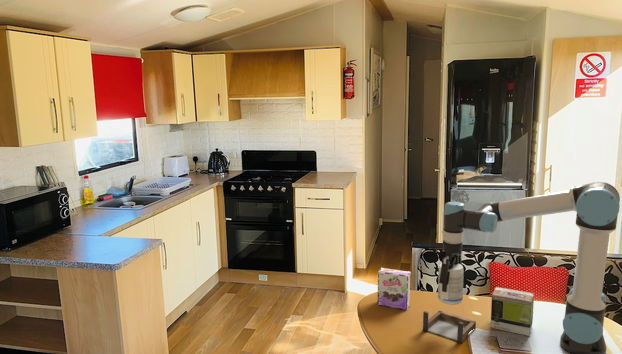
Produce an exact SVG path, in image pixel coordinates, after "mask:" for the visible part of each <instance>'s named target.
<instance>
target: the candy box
mask: <svg viewBox="0 0 622 354" xmlns="http://www.w3.org/2000/svg"><path fill="white" fill-rule="evenodd" d="M411 273H412V272H411V271H409V270H408V271H406V270H399V269H393V268H385V267H380V269H379V270H378V272H377V306H379V305H382V306H381V307H385V306H386V307H385V308H391V309H397V310H398V309H399V310H403V311H408V309H409V308H410V306H409V305H410V303H411V302H410V299H411V298H410V294H411Z"/></svg>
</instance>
